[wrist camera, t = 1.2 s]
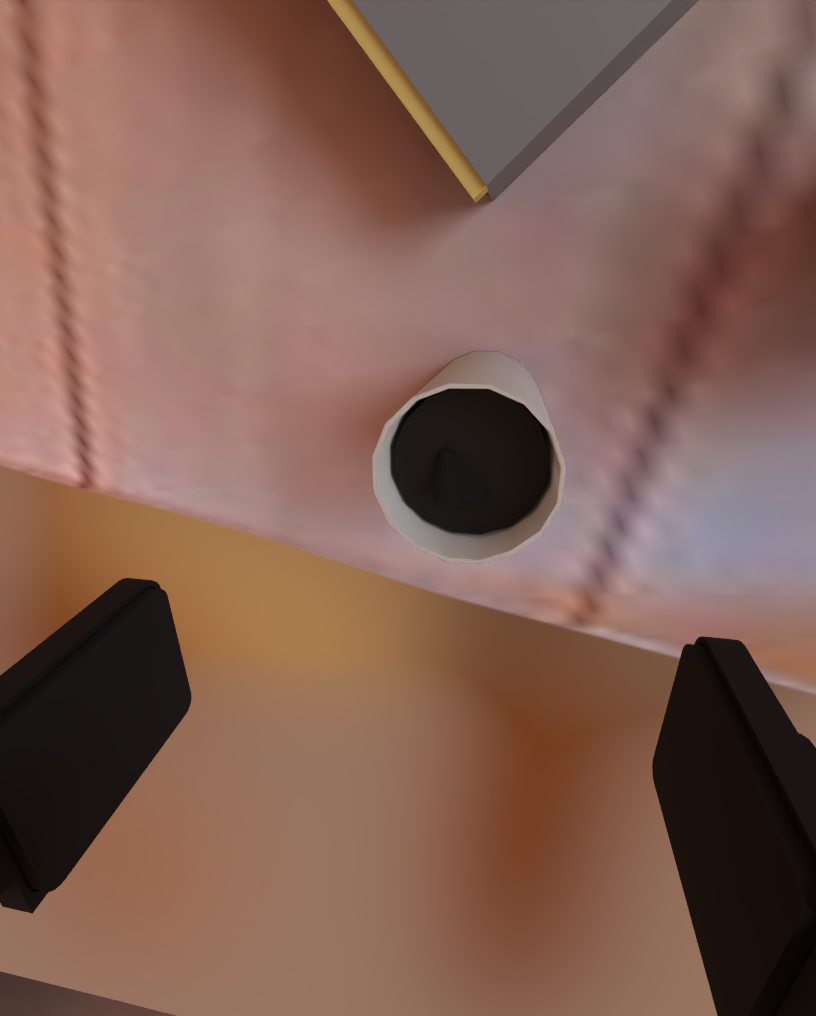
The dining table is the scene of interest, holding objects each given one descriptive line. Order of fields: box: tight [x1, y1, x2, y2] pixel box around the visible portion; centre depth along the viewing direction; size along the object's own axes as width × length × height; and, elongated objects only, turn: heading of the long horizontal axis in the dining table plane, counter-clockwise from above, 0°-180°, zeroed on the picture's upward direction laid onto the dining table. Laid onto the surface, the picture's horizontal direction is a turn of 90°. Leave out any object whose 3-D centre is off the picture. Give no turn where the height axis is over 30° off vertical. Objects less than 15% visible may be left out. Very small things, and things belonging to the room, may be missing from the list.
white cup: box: [372, 351, 566, 564], centre depth 22 cm, size 7×7×10 cm
